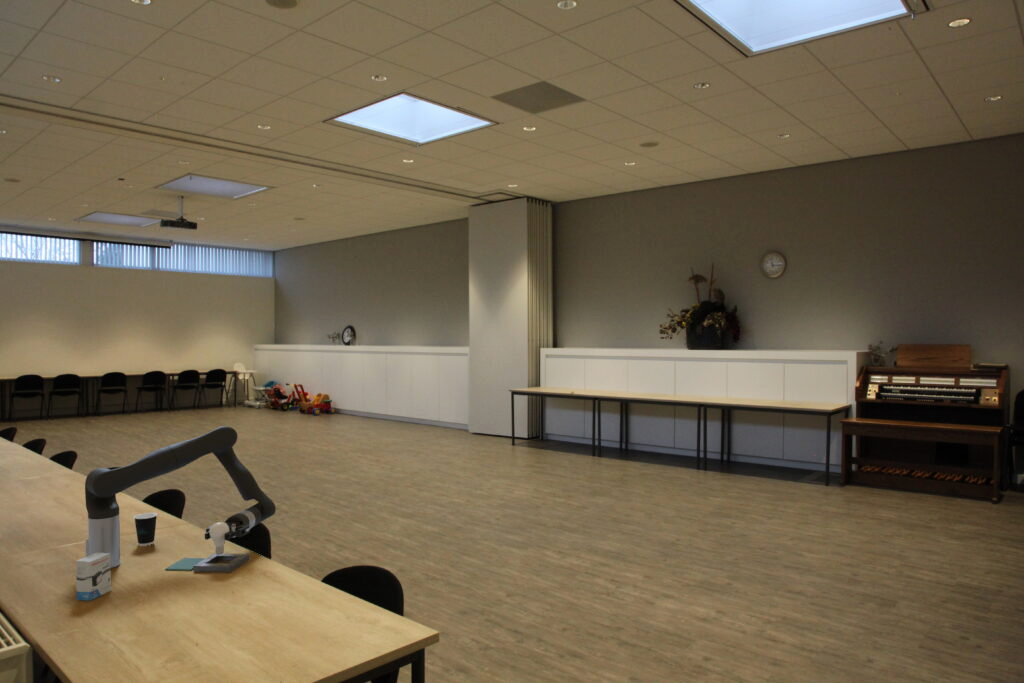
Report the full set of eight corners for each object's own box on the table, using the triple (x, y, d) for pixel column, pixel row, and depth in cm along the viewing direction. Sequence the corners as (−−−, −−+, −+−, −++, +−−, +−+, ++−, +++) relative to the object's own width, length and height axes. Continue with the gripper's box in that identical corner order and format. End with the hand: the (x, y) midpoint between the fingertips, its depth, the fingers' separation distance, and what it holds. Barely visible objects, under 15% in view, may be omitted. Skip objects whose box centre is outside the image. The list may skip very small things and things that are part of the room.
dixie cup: (155, 539, 264) (154, 511, 264) (160, 544, 258) (159, 515, 257) (132, 544, 259) (131, 515, 259) (136, 549, 253) (136, 519, 252)
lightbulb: (213, 551, 236) (213, 519, 236) (232, 551, 236) (232, 519, 236) (206, 557, 230) (206, 525, 229) (226, 557, 230) (225, 524, 230)
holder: (193, 571, 227) (193, 565, 227) (214, 558, 240) (214, 553, 240) (230, 572, 226) (230, 566, 226) (249, 559, 239) (249, 554, 239)
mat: (165, 570, 229) (165, 568, 229) (184, 559, 240) (184, 557, 240) (190, 570, 228) (190, 569, 228) (208, 559, 239) (208, 558, 239)
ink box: (89, 601, 203) (89, 561, 203) (75, 600, 204) (75, 560, 204) (112, 590, 211) (111, 552, 211) (98, 589, 212) (97, 551, 212)
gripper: (221, 512, 248) (195, 525, 231) (259, 513, 246) (236, 526, 230) (221, 533, 248) (195, 547, 231) (259, 534, 246) (236, 548, 230)
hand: (215, 536), depth 231 cm, fingers closed on lightbulb, 6 cm apart
